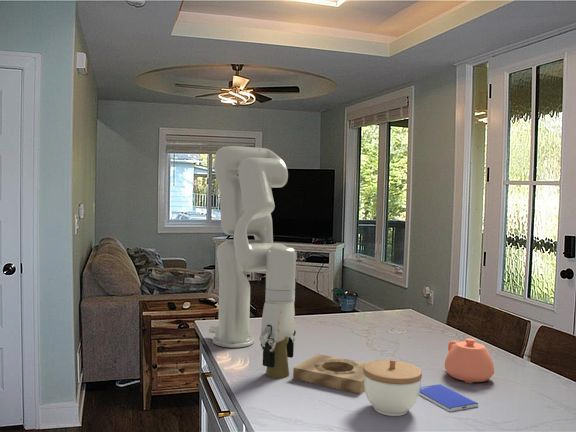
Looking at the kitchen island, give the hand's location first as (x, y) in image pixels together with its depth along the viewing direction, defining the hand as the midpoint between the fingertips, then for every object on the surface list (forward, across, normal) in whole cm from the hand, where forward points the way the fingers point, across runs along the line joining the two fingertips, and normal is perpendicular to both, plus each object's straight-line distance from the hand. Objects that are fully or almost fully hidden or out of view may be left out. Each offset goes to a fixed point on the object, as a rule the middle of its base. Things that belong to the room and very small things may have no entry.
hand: (278, 361), depth 141 cm
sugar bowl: (+4, -26, +42) cm, 50 cm away
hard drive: (+4, -7, +41) cm, 42 cm away
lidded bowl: (+4, +6, +32) cm, 33 cm away
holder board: (+4, -6, +14) cm, 16 cm away
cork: (+4, 0, 0) cm, 4 cm away
